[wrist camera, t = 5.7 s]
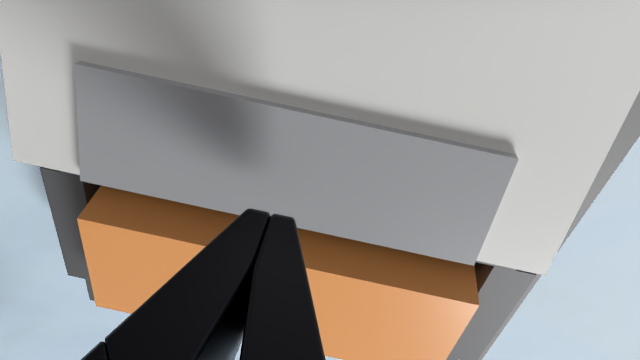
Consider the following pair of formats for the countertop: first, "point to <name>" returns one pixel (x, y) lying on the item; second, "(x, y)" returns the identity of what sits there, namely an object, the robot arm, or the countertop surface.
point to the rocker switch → (335, 110)
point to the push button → (321, 266)
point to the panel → (492, 280)
